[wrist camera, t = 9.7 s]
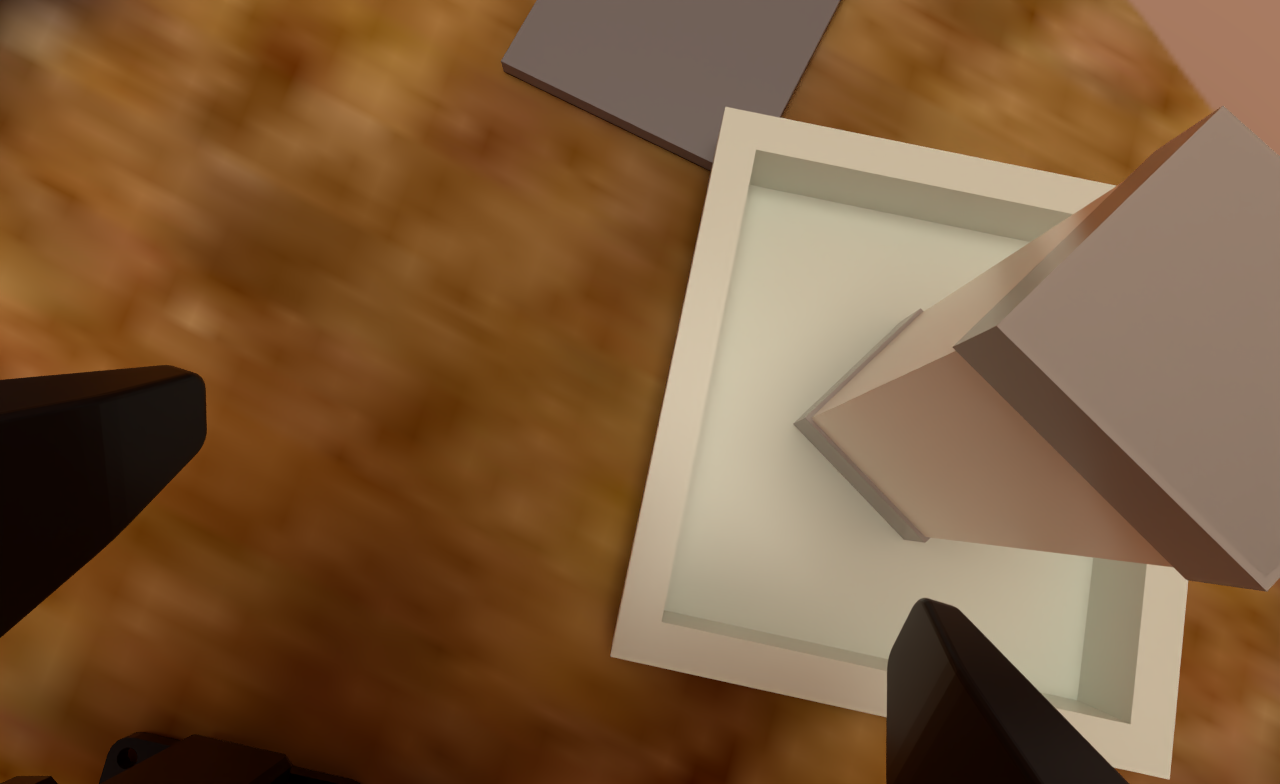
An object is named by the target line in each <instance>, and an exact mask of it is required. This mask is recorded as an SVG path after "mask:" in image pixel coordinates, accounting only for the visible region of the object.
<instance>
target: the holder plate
mask: <svg viewBox="0 0 1280 784" xmlns="http://www.w3.org/2000/svg"><path fill="white" fill-rule="evenodd" d="M840 2H841V0H537V1H536V3H535V4H534V6H533V8H532V9H531V11H530V13H529V15H528V16H527V18H526V20H525V21H524V23H523V25H522V26H521V28H520V30H519V32H518V33H517V35H516V37H515V38H514V40H513V42H512V43H511V45H510V47H509V49H508V50H507V52H506V54H505V55H504V57H503V59H502V60H501V63H502V66H503V69H504V72H506V73H509V74H511V75H513V76H515V77H517V78H519V79H521V80H523V81H525V82H527V83H529V84H531V85H533V86H536V87H538V88H540V89H542V90H544V91H546V92H548V93H550V94H552V95H554V96H556V97H558V98H560V99H563V100H565V101H567V102H569V103H571V104H573V105H575V106H577V107H579V108H581V109H583V110H585V111H587V112H590V113H592V114H594V115H596V116H598V117H600V118H602V119H604V120H606V121H608V122H610V123H612V124H614V125H617V126H619V127H621V128H623V129H625V130H627V131H629V132H631V133H633V134H635V135H637V136H639V137H641V138H644V139H646V140H648V141H650V142H652V143H654V144H656V145H658V146H660V147H662V148H664V149H666V150H668V151H671V152H673V153H675V154H677V155H679V156H681V157H683V158H685V159H687V160H689V161H691V162H693V163H695V164H698V165H700V166H702V167H704V168H706V169H708V170H710V171H711V168H712V164H713V159H714V154H715V149H716V145H717V140H718V136H719V132H720V128H721V123H722V119H723V115H724V111H725V107H730V108H734V109H739V110H744V111H749V112H754V113H759V114H764V115H769V116H774V117H779V118H781V116H782V114H783V112H784V110H785V108H786V106H787V104H788V102H789V100H790V99H791V97H792V95H793V93H794V91H795V89H796V87H797V85H798V83H799V81H800V79H801V77H802V75H803V73H804V71H805V69H806V67H807V66H808V64H809V62H810V60H811V58H812V56H813V54H814V52H815V50H816V48H817V46H818V44H819V42H820V40H821V38H822V36H823V35H824V33H825V31H826V29H827V27H828V25H829V23H830V21H831V19H832V17H833V15H834V13H835V11H836V9H837V7H838V5H839V4H840Z"/></svg>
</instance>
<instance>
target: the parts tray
mask: <svg viewBox="0 0 1280 784" xmlns="http://www.w3.org/2000/svg"><path fill="white" fill-rule="evenodd" d="M1114 187H1116V186H1115V185H1110V184H1105V183H1100V182H1095V181H1090V180H1085V179H1080V178H1075V177H1071V176H1066V175H1061V174H1056V173H1051V172H1046V171H1041V170H1036V169H1031V168H1026V167H1021V166H1016V165H1011V164H1006V163H1001V162H996V161H991V160H987V159H982V158H977V157H972V156H967V155H962V154H957V153H952V152H947V151H942V150H937V149H932V148H927V147H922V146H917V145H912V144H907V143H902V142H898V141H893V140H888V139H883V138H878V137H873V136H868V135H863V134H858V133H853V132H848V131H843V130H838V129H833V128H828V127H823V126H818V125H814V124H809V123H804V122H799V121H794V120H789V119H784V118H779V117H774V116H769V115H764V114H759V113H754V112H749V111H744V110H739V109H734V108H730V107H725V111H724V115H723V119H722V123H721V128H720V132H719V136H718V140H717V145H716V149H715V154H714V159H713V164H712V168H711V172H710V177H709V182H708V187H707V191H706V196H705V201H704V206H703V210H702V215H701V220H700V225H699V229H698V234H697V239H696V244H695V248H694V253H693V258H692V263H691V268H690V272H689V277H688V282H687V287H686V291H685V296H684V301H683V306H682V310H681V315H680V320H679V325H678V330H677V334H676V339H675V344H674V349H673V353H672V358H671V363H670V368H669V372H668V377H667V382H666V387H665V392H664V396H663V401H662V406H661V411H660V415H659V420H658V425H657V430H656V434H655V439H654V444H653V449H652V454H651V458H650V463H649V468H648V473H647V477H646V482H645V487H644V492H643V496H642V501H641V506H640V511H639V516H638V520H637V525H636V530H635V535H634V539H633V544H632V549H631V554H630V558H629V563H628V568H627V573H626V578H625V582H624V587H623V592H622V597H621V601H620V606H619V611H618V616H617V620H616V625H615V630H614V635H613V641H612V648H611V655H610V657H614V658H619V659H624V660H628V661H633V662H637V663H642V664H646V665H651V666H655V667H660V668H664V669H669V670H674V671H678V672H683V673H687V674H692V675H696V676H701V677H705V678H710V679H715V680H719V681H724V682H728V683H733V684H737V685H742V686H746V687H751V688H755V689H760V690H765V691H769V692H774V693H778V694H783V695H787V696H792V697H796V698H801V699H805V700H810V701H815V702H819V703H824V704H828V705H833V706H837V707H842V708H846V709H851V710H856V711H860V712H865V713H869V714H874V715H878V716H883V717H887V664H888V658H889V654H890V651H891V649H892V647H893V645H894V643H895V641H896V639H897V637H898V635H899V633H900V631H901V629H902V627H903V625H904V623H905V621H906V619H907V617H908V615H909V613H910V611H911V609H912V607H913V605H914V604H915V603H916V602H917V601H918V600H919V599H921V598H929V599H932V600H936V601H939V602H942V603H946V604H949V605H952V606H955V607H956V608H958V609H959V610H960V611H961V612H962V613H963V614H964V615H965V616H966V617H967V618H968V619H969V620H970V621H971V622H972V623H973V624H974V625H975V626H976V627H977V628H978V629H979V630H980V631H981V632H982V633H983V634H984V635H985V636H986V637H987V638H988V639H989V640H990V641H991V642H992V643H993V644H994V645H995V647H996V648H997V649H998V650H999V651H1000V652H1001V653H1002V654H1003V655H1004V656H1005V657H1006V658H1007V659H1008V660H1009V661H1010V662H1011V663H1012V664H1013V665H1014V666H1015V667H1016V668H1017V669H1018V670H1019V671H1020V672H1021V673H1022V674H1023V675H1024V676H1025V677H1026V678H1027V679H1028V680H1029V681H1030V682H1031V683H1032V685H1033V686H1034V687H1035V688H1036V689H1037V690H1038V691H1039V692H1040V693H1041V694H1042V695H1043V696H1044V697H1045V698H1046V699H1047V700H1048V701H1049V702H1050V703H1051V704H1052V705H1053V706H1054V707H1055V708H1056V709H1057V710H1058V711H1059V712H1060V713H1061V714H1062V715H1063V716H1064V717H1065V718H1066V719H1067V720H1068V721H1069V723H1070V724H1071V725H1072V726H1073V727H1074V728H1075V729H1076V730H1077V731H1078V732H1079V733H1080V734H1081V735H1082V736H1083V737H1084V738H1085V739H1086V740H1087V741H1088V742H1089V743H1090V744H1091V745H1092V746H1093V747H1094V748H1095V749H1096V750H1097V751H1098V752H1099V753H1100V754H1101V755H1102V756H1103V757H1104V758H1105V759H1106V761H1107V762H1108V763H1109V764H1110V765H1111V766H1112V767H1115V768H1119V769H1124V770H1128V771H1133V772H1138V773H1142V774H1147V775H1151V776H1156V777H1160V778H1165V779H1169V780H1170V770H1171V759H1172V748H1173V737H1174V727H1175V716H1176V705H1177V695H1178V684H1179V673H1180V662H1181V652H1182V641H1183V630H1184V620H1185V609H1186V598H1187V587H1188V580H1186V579H1185V578H1184V577H1183V576H1182V575H1181V574H1180V573H1179V572H1178V571H1177V570H1176V569H1175V568H1174V567H1167V566H1158V565H1150V564H1142V563H1134V562H1126V561H1118V560H1109V559H1101V558H1093V557H1085V556H1077V555H1068V554H1060V553H1052V552H1044V551H1036V550H1028V549H1019V548H1011V547H1003V546H995V545H987V544H979V543H970V542H962V541H954V540H946V539H938V538H930V539H929V540H928V541H927V542H926V543H923V542H916V541H909V540H904V539H903V538H902V537H901V536H900V535H899V534H898V533H897V532H896V531H895V530H894V529H893V528H892V527H891V526H890V525H889V524H888V523H887V521H886V520H885V519H884V518H883V517H882V516H881V515H880V514H879V513H878V512H877V511H876V510H875V509H874V508H873V507H872V506H871V505H870V504H869V503H868V502H867V501H866V500H865V499H864V497H863V496H862V495H861V494H860V493H859V492H858V491H857V490H856V489H855V488H854V487H853V486H852V485H851V484H850V483H849V482H848V481H847V480H846V479H845V478H844V477H843V476H842V475H841V473H840V472H839V471H838V470H837V469H836V468H835V467H834V466H833V465H832V464H831V463H830V462H829V461H828V460H827V459H826V458H825V457H824V456H823V455H822V454H821V453H820V452H819V451H818V449H817V448H816V447H815V446H814V445H813V444H812V443H811V442H810V441H809V440H808V439H807V438H806V437H805V436H804V435H803V434H802V433H801V432H800V431H799V430H798V429H797V428H796V427H795V426H794V424H793V423H794V422H795V421H796V420H798V419H799V418H800V417H801V416H802V415H803V414H804V413H805V412H806V411H807V410H808V409H809V408H810V407H811V406H812V405H813V404H814V403H815V402H816V401H818V400H819V399H820V398H821V397H822V396H823V395H824V394H825V393H826V392H827V391H828V390H829V389H830V388H831V387H832V386H833V385H834V384H835V383H836V382H838V381H839V380H840V379H841V378H842V377H843V376H844V375H845V374H846V373H847V372H848V371H849V370H850V369H851V368H852V367H853V366H854V365H855V364H856V363H858V362H859V361H860V360H861V359H862V358H863V357H864V356H865V355H866V354H867V353H868V352H869V351H870V350H871V349H872V348H873V347H874V346H875V345H876V344H878V343H879V342H880V341H881V340H882V339H883V338H884V337H885V336H886V335H887V334H888V333H889V332H890V331H891V330H892V329H893V328H894V327H895V326H896V325H898V324H899V323H900V322H901V321H902V320H904V319H905V318H907V317H908V316H910V315H911V314H913V313H914V312H916V311H917V310H919V309H920V308H921V309H922V310H923V311H925V310H927V309H928V308H930V307H932V306H933V305H935V304H936V303H938V302H939V301H941V300H942V299H944V298H945V297H947V296H948V295H950V294H951V293H953V292H955V291H956V290H958V289H959V288H961V287H962V286H964V285H965V284H967V283H968V282H970V281H971V280H973V279H975V278H976V277H978V276H979V275H981V274H982V273H984V272H985V271H987V270H988V269H990V268H991V267H993V266H994V265H996V264H998V263H999V262H1001V261H1002V260H1004V259H1005V258H1007V257H1008V256H1010V255H1011V254H1013V253H1014V252H1016V251H1018V250H1019V249H1021V248H1022V247H1024V246H1025V245H1027V244H1028V243H1030V242H1031V241H1033V240H1034V239H1036V238H1037V237H1039V236H1041V235H1042V234H1044V233H1045V232H1047V231H1048V230H1050V229H1051V228H1053V227H1054V226H1056V225H1057V224H1059V223H1061V222H1062V221H1064V220H1065V219H1067V218H1068V217H1070V216H1071V215H1073V214H1074V213H1076V212H1077V211H1079V210H1080V209H1082V208H1084V207H1085V206H1087V205H1088V204H1090V203H1091V202H1093V201H1094V200H1096V199H1097V198H1099V197H1100V196H1102V195H1104V194H1105V193H1107V192H1108V191H1110V190H1111V189H1113V188H1114Z"/></svg>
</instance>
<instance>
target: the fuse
mask: <svg viewBox="0 0 1280 784" xmlns="http://www.w3.org/2000/svg"><path fill="white" fill-rule="evenodd" d="M793 424H794V426H795V427H796V428H797V429H798V430H799V431H800V432H801V433H802V434H803V435H804V436H805V437H806V438H807V439H808V440H809V441H810V442H811V443H812V444H813V445H814V446H815V447H816V448H817V449H818V451H819V452H820V453H821V454H822V455H823V456H824V457H825V458H826V459H827V460H828V461H829V462H830V463H831V464H832V465H833V466H834V467H835V468H836V469H837V470H838V471H839V472H840V473H841V475H842V476H843V477H844V478H845V479H846V480H847V481H848V482H849V483H850V484H851V485H852V486H853V487H854V488H855V489H856V490H857V491H858V492H859V493H860V494H861V495H862V496H863V497H864V499H865V500H866V501H867V502H868V503H869V504H870V505H871V506H872V507H873V508H874V509H875V510H876V511H877V512H878V513H879V514H880V515H881V516H882V517H883V518H884V519H885V520H886V521H887V523H888V524H889V525H890V526H891V527H892V528H893V529H894V530H895V531H896V532H897V533H898V534H899V535H900V536H901V537H902V538H903V539H904V540H909V541H916V542H923V543H926V542H927V541H928V540H929V539H930V538H938V539H946V540H954V541H962V542H970V543H979V544H987V545H995V546H1003V547H1011V548H1019V549H1028V550H1036V551H1044V552H1052V553H1060V554H1068V555H1077V556H1085V557H1093V558H1101V559H1109V560H1118V561H1126V562H1134V563H1142V564H1150V565H1158V566H1167V567H1174V568H1175V569H1176V570H1177V571H1178V572H1179V573H1180V574H1181V575H1182V576H1183V577H1184V578H1185V579H1186V580H1190V581H1197V582H1204V583H1211V584H1218V585H1225V586H1232V587H1239V588H1246V589H1253V590H1260V591H1268V590H1269V589H1270V588H1271V586H1272V585H1273V584H1274V583H1275V582H1276V581H1277V580H1278V579H1279V578H1280V156H1279V155H1278V154H1276V153H1275V152H1274V151H1273V150H1272V149H1271V148H1270V147H1269V146H1268V145H1266V144H1265V143H1264V142H1263V141H1262V140H1261V139H1260V138H1258V136H1256V135H1255V134H1254V133H1253V132H1252V131H1251V130H1250V129H1249V128H1248V127H1246V126H1245V125H1244V124H1243V123H1242V122H1241V121H1240V120H1239V119H1237V118H1236V117H1235V116H1234V115H1233V114H1232V113H1231V112H1230V111H1229V110H1227V109H1226V108H1225V107H1224V106H1222V107H1220V108H1219V109H1217V110H1216V111H1214V112H1213V113H1211V114H1210V115H1208V116H1207V117H1205V118H1204V119H1202V120H1201V121H1199V122H1198V123H1196V124H1195V125H1193V126H1192V127H1190V128H1189V129H1187V130H1186V131H1184V132H1183V133H1181V134H1180V135H1178V136H1177V137H1175V138H1174V139H1172V140H1171V141H1169V142H1168V143H1166V144H1165V145H1164V146H1162V147H1161V148H1159V149H1158V150H1156V151H1155V152H1154V153H1152V154H1151V155H1150V156H1149V157H1148V158H1147V159H1146V160H1145V161H1144V162H1143V163H1142V164H1141V165H1140V166H1139V167H1138V168H1137V169H1136V170H1135V171H1134V172H1133V173H1132V174H1131V175H1130V176H1129V177H1128V178H1127V179H1126V180H1125V181H1123V182H1122V183H1120V184H1119V185H1117V186H1116V187H1114V188H1113V189H1111V190H1110V191H1108V192H1107V193H1105V194H1104V195H1102V196H1100V197H1099V198H1097V199H1096V200H1094V201H1093V202H1091V203H1090V204H1088V205H1087V206H1085V207H1084V208H1082V209H1080V210H1079V211H1077V212H1076V213H1074V214H1073V215H1071V216H1070V217H1068V218H1067V219H1065V220H1064V221H1062V222H1061V223H1059V224H1057V225H1056V226H1054V227H1053V228H1051V229H1050V230H1048V231H1047V232H1045V233H1044V234H1042V235H1041V236H1039V237H1037V238H1036V239H1034V240H1033V241H1031V242H1030V243H1028V244H1027V245H1025V246H1024V247H1022V248H1021V249H1019V250H1018V251H1016V252H1014V253H1013V254H1011V255H1010V256H1008V257H1007V258H1005V259H1004V260H1002V261H1001V262H999V263H998V264H996V265H994V266H993V267H991V268H990V269H988V270H987V271H985V272H984V273H982V274H981V275H979V276H978V277H976V278H975V279H973V280H971V281H970V282H968V283H967V284H965V285H964V286H962V287H961V288H959V289H958V290H956V291H955V292H953V293H951V294H950V295H948V296H947V297H945V298H944V299H942V300H941V301H939V302H938V303H936V304H935V305H933V306H932V307H930V308H928V309H927V310H925V311H923V310H922V309H921V308H920V309H919V310H917V311H916V312H914V313H913V314H911V315H910V316H908V317H907V318H905V319H904V320H902V321H901V322H900V323H899V324H898V325H896V326H895V327H894V328H893V329H892V330H891V331H890V332H889V333H888V334H887V335H886V336H885V337H884V338H883V339H882V340H881V341H880V342H879V343H878V344H876V345H875V346H874V347H873V348H872V349H871V350H870V351H869V352H868V353H867V354H866V355H865V356H864V357H863V358H862V359H861V360H860V361H859V362H858V363H856V364H855V365H854V366H853V367H852V368H851V369H850V370H849V371H848V372H847V373H846V374H845V375H844V376H843V377H842V378H841V379H840V380H839V381H838V382H836V383H835V384H834V385H833V386H832V387H831V388H830V389H829V390H828V391H827V392H826V393H825V394H824V395H823V396H822V397H821V398H820V399H819V400H818V401H816V402H815V403H814V404H813V405H812V406H811V407H810V408H809V409H808V410H807V411H806V412H805V413H804V414H803V415H802V416H801V417H800V418H799V419H798V420H796V421H795V422H794V423H793Z"/></svg>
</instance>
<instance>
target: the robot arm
mask: <svg viewBox="0 0 1280 784" xmlns="http://www.w3.org/2000/svg"><path fill="white" fill-rule="evenodd" d="M206 434H207V421H206V388H205V383H204V381H203V379H202V378H201V377H200V376H199V375H198V374H196V373H193V372H190V371H187V370H184V369H181V368H177V367H174V366H169V365H160V366H149V367H138V368H127V369H116V370H105V371H94V372H83V373H72V374H61V375H50V376H39V377H27V378H16V379H5V380H0V638H1V637H2V636H3V635H4V634H5V633H6V632H8V631H9V630H10V629H11V628H12V627H13V626H15V625H16V624H17V623H18V622H19V621H20V620H22V619H23V618H24V617H25V616H26V615H27V614H29V613H30V612H31V611H32V610H33V609H34V608H35V607H37V606H38V605H39V604H40V603H41V602H42V601H44V600H45V599H46V598H47V597H48V596H49V595H51V594H52V593H53V592H54V591H55V590H56V589H58V588H59V587H60V586H61V585H62V584H63V583H65V582H66V581H67V580H68V579H69V578H70V577H71V576H73V575H74V574H75V573H76V572H77V571H78V570H80V569H81V568H82V567H83V566H84V565H85V564H87V563H88V562H89V561H90V560H91V559H92V558H94V557H95V556H96V555H97V554H98V553H99V552H100V551H101V550H103V549H104V548H105V547H106V546H107V545H108V544H109V543H110V542H111V541H113V540H114V539H115V538H116V537H117V536H118V535H119V534H120V533H121V532H122V531H123V530H124V529H125V528H126V527H127V526H128V525H129V524H130V523H131V522H132V521H133V519H134V518H135V517H136V516H137V515H138V514H139V513H140V512H141V511H142V510H143V509H144V508H145V507H146V506H147V505H148V504H149V503H150V502H151V501H152V500H153V499H154V498H155V497H156V496H157V495H158V493H159V492H160V491H161V490H162V489H163V488H164V487H165V486H166V485H167V484H168V483H169V482H170V481H171V480H172V479H173V478H174V477H175V476H176V475H177V474H178V473H179V472H180V471H181V470H182V469H183V467H184V466H185V465H186V464H187V463H188V462H189V461H190V460H191V459H192V458H193V457H194V456H195V455H196V454H197V453H198V452H199V450H200V449H201V447H202V446H203V444H204V441H205V438H206ZM129 748H132V749H134V750H135V751H136V753H137V762H136V763H133V762H131V761H130V759H129V757H128V750H129ZM0 784H57V782H56V781H55V780H54V779H53V778H52V776H16V777H14V778H12V779H9V780H7V781H5V782H3V783H0ZM99 784H360V783H359V782H357V781H355V780H353V779H348V778H344V777H340V776H335V775H331V774H326V773H322V772H317V771H313V770H309V769H304V768H300V767H295V766H292V763H291V762H290V760H289V759H288V758H287V756H286V755H284V754H281V753H276V752H272V751H267V750H263V749H258V748H254V747H249V746H245V745H241V744H236V743H232V742H227V741H223V740H218V739H214V738H209V737H205V736H201V735H191V736H189V737H187V738H185V739H184V740H182V741H180V740H175V739H171V738H167V737H162V736H158V735H153V734H149V733H144V732H136V733H134V734H131V735H129V736H127V737H125V738H122V739H120V740H118V741H117V742H116V743H115V744H114V745H113V746H112V747H111V749H110V751H109V753H108V755H107V759H106V762H105V765H104V768H103V772H102V775H101V778H100V781H99ZM886 784H1129V783H1128V782H1127V781H1126V780H1125V779H1124V778H1123V777H1122V776H1121V775H1120V774H1119V773H1118V772H1117V771H1116V770H1115V769H1114V768H1113V767H1112V766H1111V765H1110V764H1109V763H1108V762H1107V761H1106V759H1105V758H1104V757H1103V756H1102V755H1101V754H1100V753H1099V752H1098V751H1097V750H1096V749H1095V748H1094V747H1093V746H1092V745H1091V744H1090V743H1089V742H1088V741H1087V740H1086V739H1085V738H1084V737H1083V736H1082V735H1081V734H1080V733H1079V732H1078V731H1077V730H1076V729H1075V728H1074V727H1073V726H1072V725H1071V724H1070V723H1069V721H1068V720H1067V719H1066V718H1065V717H1064V716H1063V715H1062V714H1061V713H1060V712H1059V711H1058V710H1057V709H1056V708H1055V707H1054V706H1053V705H1052V704H1051V703H1050V702H1049V701H1048V700H1047V699H1046V698H1045V697H1044V696H1043V695H1042V694H1041V693H1040V692H1039V691H1038V690H1037V689H1036V688H1035V687H1034V686H1033V685H1032V683H1031V682H1030V681H1029V680H1028V679H1027V678H1026V677H1025V676H1024V675H1023V674H1022V673H1021V672H1020V671H1019V670H1018V669H1017V668H1016V667H1015V666H1014V665H1013V664H1012V663H1011V662H1010V661H1009V660H1008V659H1007V658H1006V657H1005V656H1004V655H1003V654H1002V653H1001V652H1000V651H999V650H998V649H997V648H996V647H995V645H994V644H993V643H992V642H991V641H990V640H989V639H988V638H987V637H986V636H985V635H984V634H983V633H982V632H981V631H980V630H979V629H978V628H977V627H976V626H975V625H974V624H973V623H972V622H971V621H970V620H969V619H968V618H967V617H966V616H965V615H964V614H963V613H962V612H961V611H960V610H959V609H958V608H956V607H955V606H952V605H949V604H946V603H942V602H939V601H936V600H932V599H929V598H921V599H919V600H918V601H917V602H916V603H915V604H914V605H913V607H912V609H911V611H910V613H909V615H908V617H907V619H906V621H905V623H904V625H903V627H902V629H901V631H900V633H899V635H898V637H897V639H896V641H895V643H894V645H893V647H892V649H891V651H890V654H889V658H888V664H887V736H886Z"/></svg>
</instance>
